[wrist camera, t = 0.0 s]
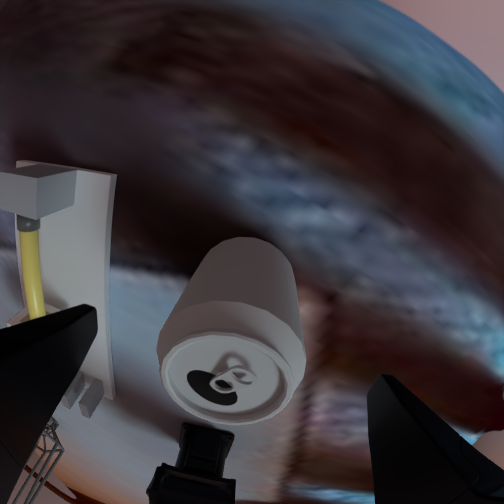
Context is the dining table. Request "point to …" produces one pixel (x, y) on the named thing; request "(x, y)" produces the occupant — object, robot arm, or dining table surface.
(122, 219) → the dining table surface
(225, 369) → the can
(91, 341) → the robot arm
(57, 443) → the geometric lantern
